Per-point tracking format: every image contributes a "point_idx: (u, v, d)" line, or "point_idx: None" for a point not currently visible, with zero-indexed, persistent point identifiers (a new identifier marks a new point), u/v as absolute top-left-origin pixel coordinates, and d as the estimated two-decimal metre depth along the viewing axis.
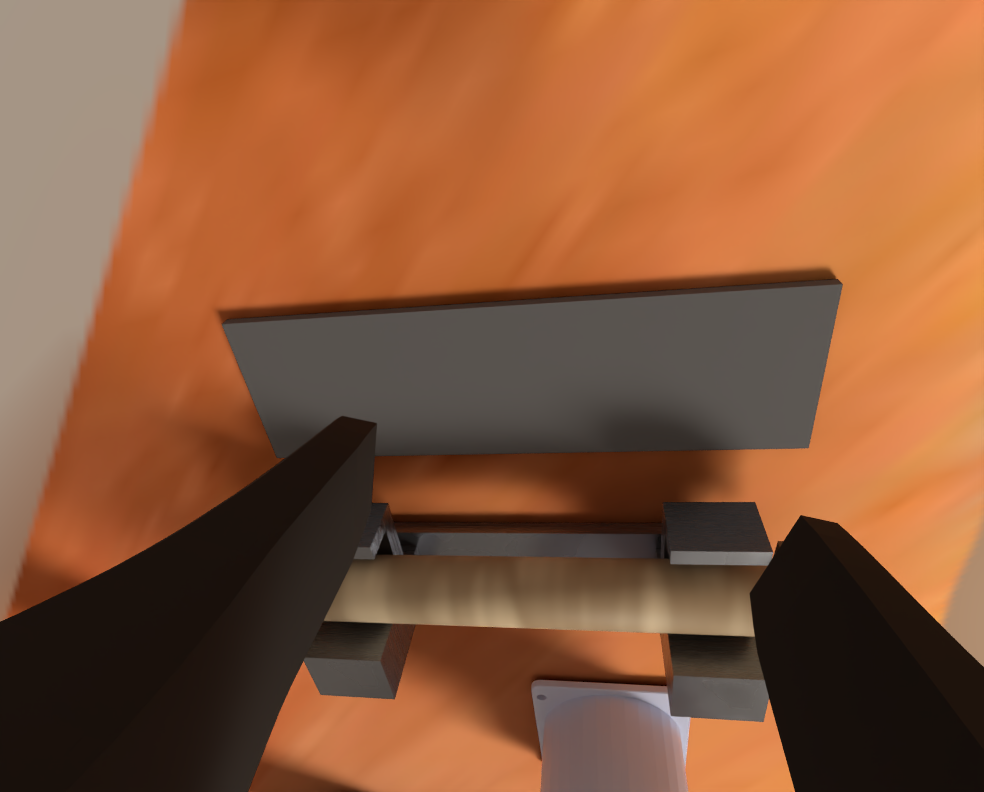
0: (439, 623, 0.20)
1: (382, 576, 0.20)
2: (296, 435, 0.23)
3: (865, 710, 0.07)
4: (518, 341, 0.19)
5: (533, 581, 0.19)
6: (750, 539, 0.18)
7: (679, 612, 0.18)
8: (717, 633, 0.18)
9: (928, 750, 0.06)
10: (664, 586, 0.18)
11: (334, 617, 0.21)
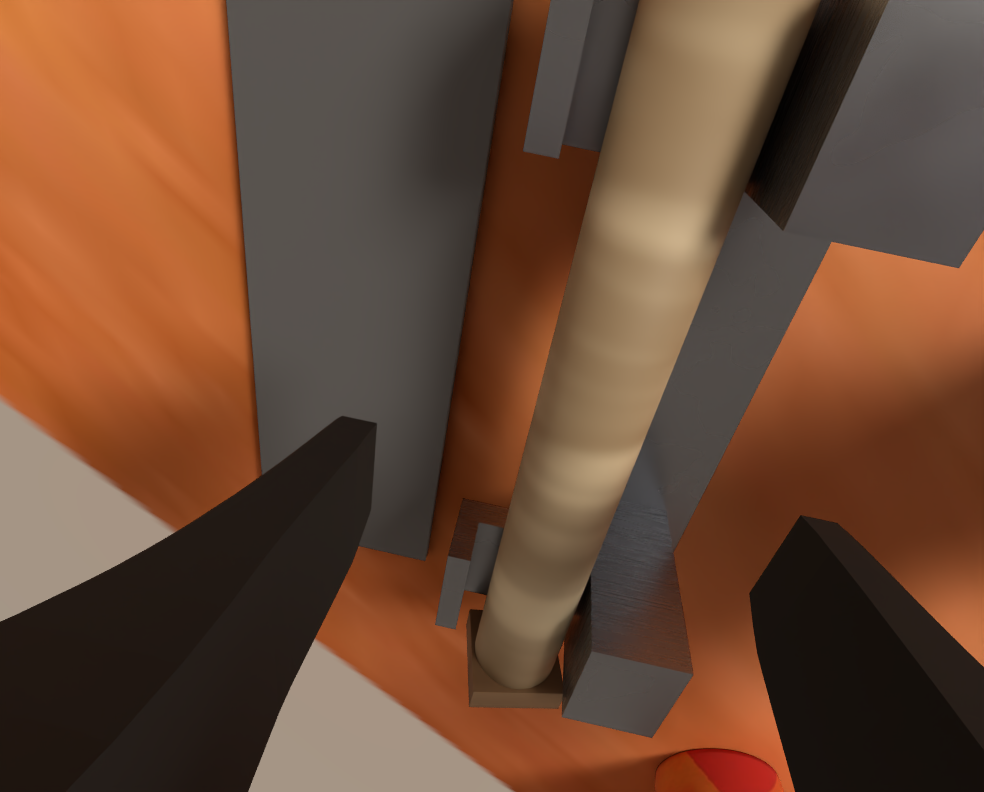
0: (577, 550, 0.13)
1: (498, 570, 0.15)
2: (398, 531, 0.20)
3: (865, 709, 0.07)
4: (292, 264, 0.15)
5: (545, 399, 0.12)
6: None
7: (652, 173, 0.09)
8: (746, 95, 0.08)
9: (928, 750, 0.06)
10: (603, 187, 0.09)
11: (534, 650, 0.15)
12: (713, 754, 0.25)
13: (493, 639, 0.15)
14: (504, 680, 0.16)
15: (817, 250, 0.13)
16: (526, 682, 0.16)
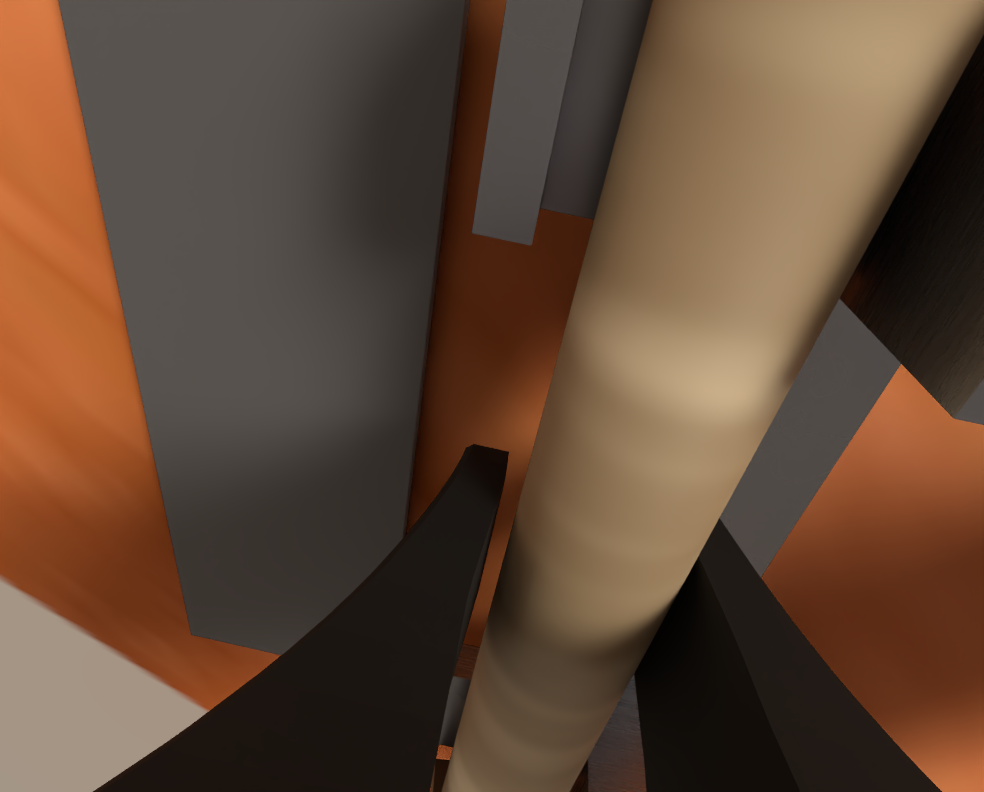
0: (556, 765, 0.09)
1: (457, 752, 0.11)
2: None
3: (691, 670, 0.07)
4: (190, 342, 0.11)
5: (509, 571, 0.08)
6: None
7: (672, 281, 0.05)
8: (857, 153, 0.04)
9: (727, 705, 0.06)
10: (592, 289, 0.05)
11: None
12: None
13: None
14: None
15: None
16: None
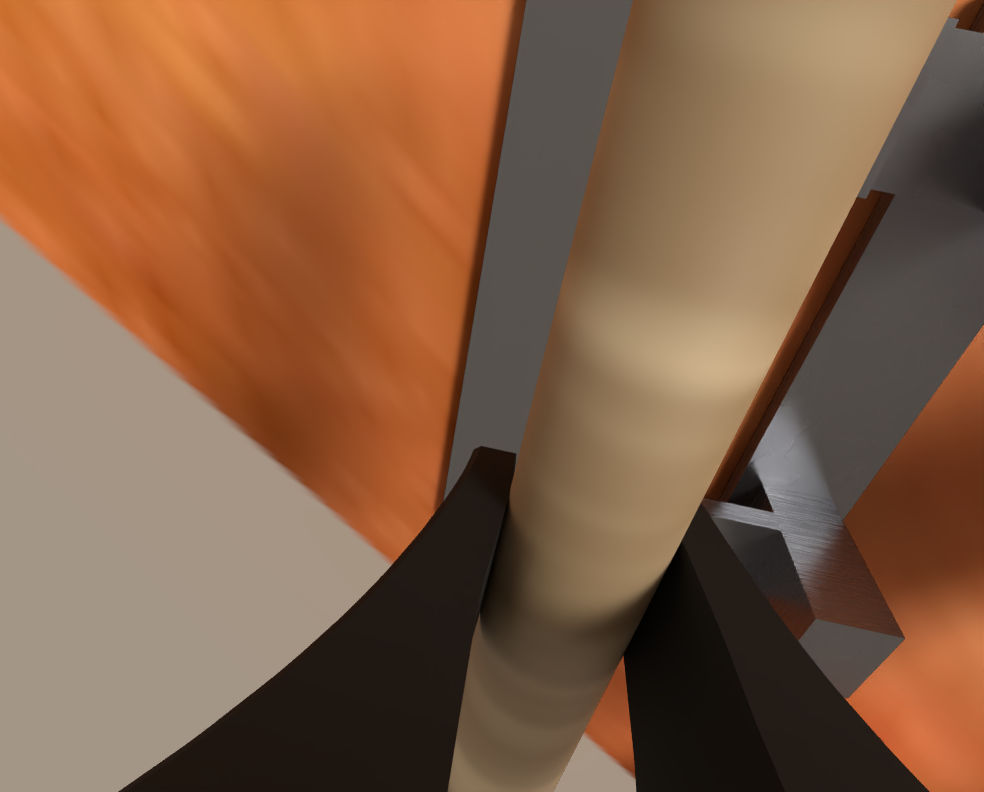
0: (547, 742, 0.09)
1: None
2: None
3: (680, 669, 0.07)
4: (524, 279, 0.17)
5: (502, 547, 0.08)
6: None
7: (650, 259, 0.05)
8: (821, 134, 0.04)
9: (714, 702, 0.06)
10: (578, 270, 0.06)
11: None
12: None
13: None
14: None
15: None
16: None
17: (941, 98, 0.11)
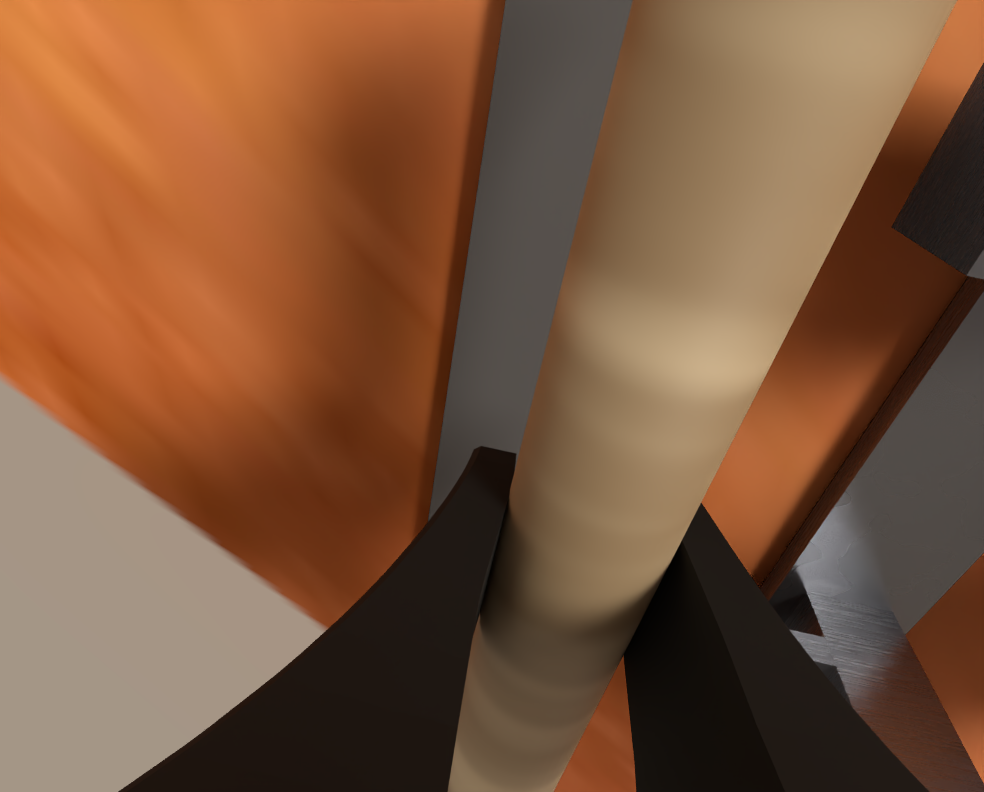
0: (547, 743, 0.09)
1: None
2: None
3: (680, 668, 0.07)
4: (509, 350, 0.13)
5: (502, 548, 0.08)
6: None
7: (650, 259, 0.05)
8: (821, 135, 0.04)
9: (714, 702, 0.06)
10: (577, 270, 0.06)
11: None
12: None
13: None
14: None
15: None
16: None
17: None
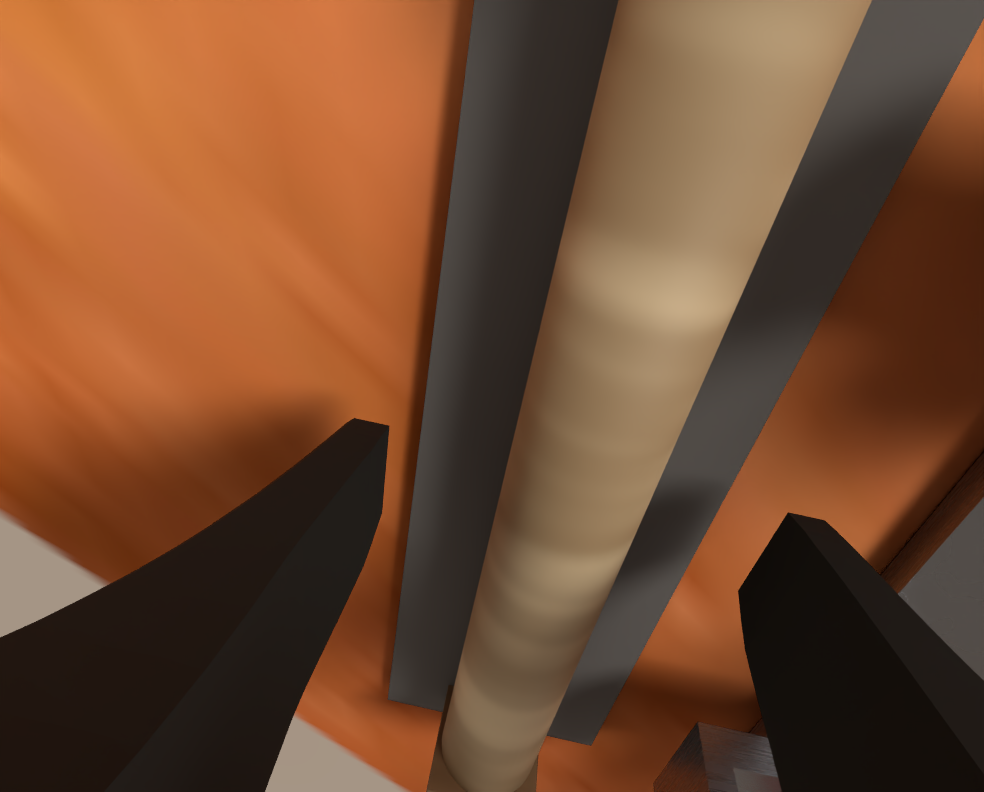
0: (541, 661, 0.10)
1: (462, 658, 0.12)
2: (563, 715, 0.16)
3: (849, 706, 0.07)
4: (490, 425, 0.11)
5: (507, 476, 0.09)
6: None
7: (622, 210, 0.06)
8: (752, 108, 0.05)
9: (909, 746, 0.06)
10: (570, 224, 0.07)
11: (496, 759, 0.13)
12: None
13: (454, 734, 0.13)
14: (464, 783, 0.14)
15: None
16: (489, 791, 0.14)
17: None
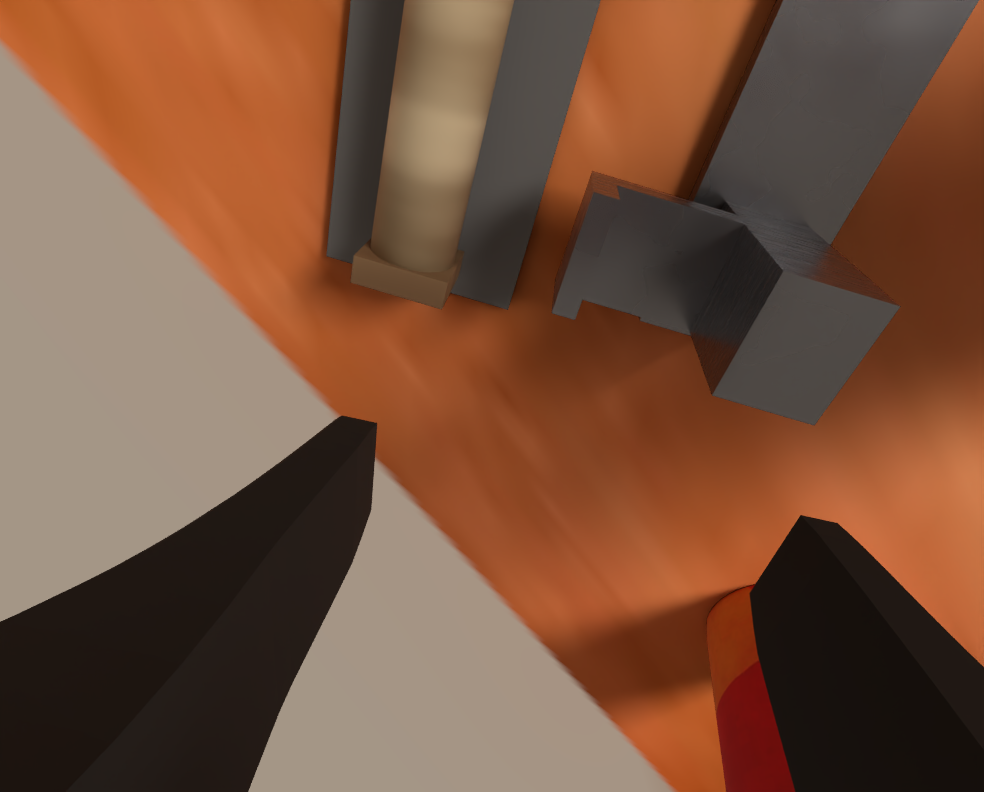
0: (455, 20, 0.12)
1: None
2: (484, 264, 0.18)
3: (866, 710, 0.07)
4: None
5: None
6: None
7: None
8: None
9: (928, 750, 0.06)
10: None
11: (415, 197, 0.14)
12: None
13: (380, 195, 0.15)
14: (387, 252, 0.15)
15: None
16: (409, 258, 0.15)
17: None
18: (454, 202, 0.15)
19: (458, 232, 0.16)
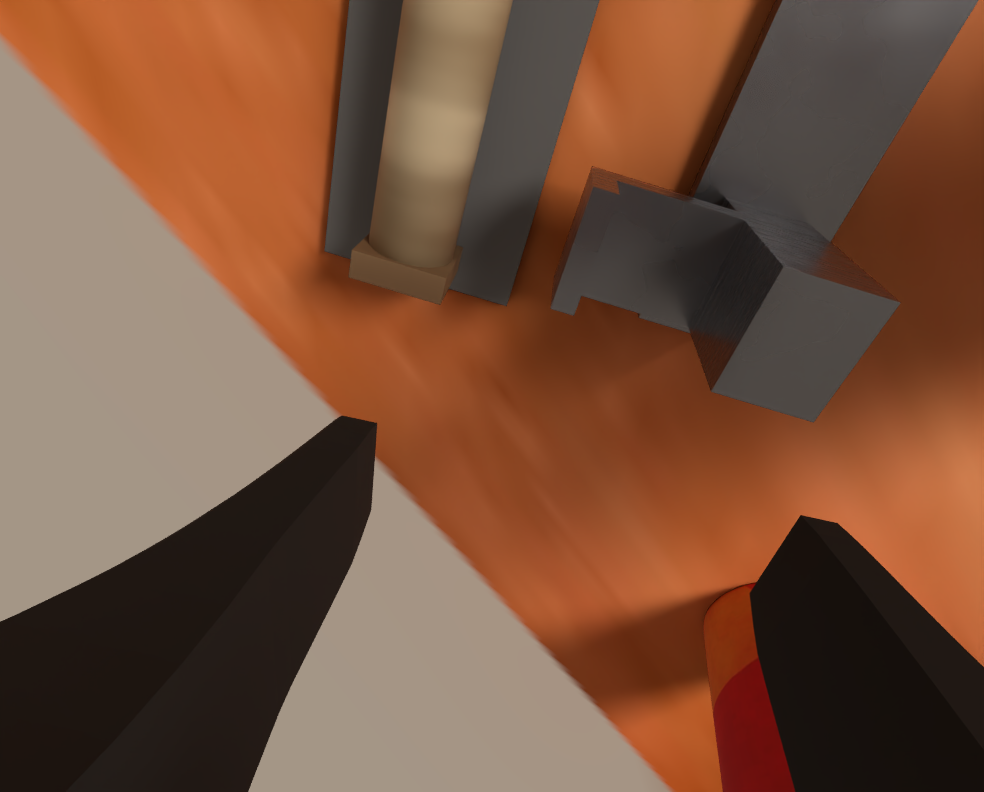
0: (455, 13, 0.12)
1: None
2: (483, 260, 0.18)
3: (864, 709, 0.07)
4: None
5: None
6: None
7: None
8: None
9: (928, 750, 0.06)
10: None
11: (414, 191, 0.14)
12: None
13: (379, 189, 0.15)
14: (386, 247, 0.15)
15: None
16: (407, 252, 0.15)
17: None
18: (453, 197, 0.15)
19: (457, 227, 0.16)
